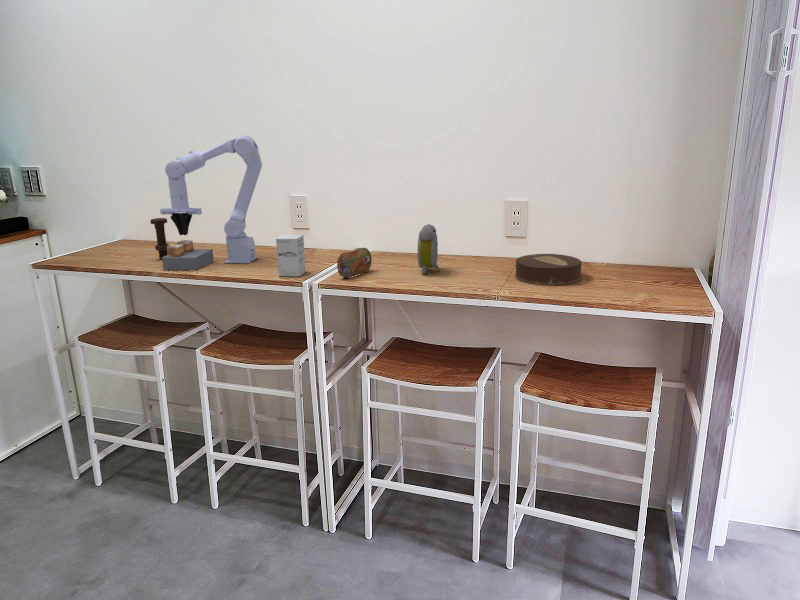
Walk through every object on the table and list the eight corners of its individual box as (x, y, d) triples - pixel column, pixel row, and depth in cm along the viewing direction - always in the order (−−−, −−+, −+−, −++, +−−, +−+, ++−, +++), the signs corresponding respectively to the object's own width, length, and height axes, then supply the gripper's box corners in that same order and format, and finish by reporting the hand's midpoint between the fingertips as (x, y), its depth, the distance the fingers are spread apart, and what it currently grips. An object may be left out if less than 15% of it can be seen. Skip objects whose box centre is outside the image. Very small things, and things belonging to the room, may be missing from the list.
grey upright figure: (422, 267, 212) (421, 222, 208) (442, 267, 211) (442, 223, 207) (417, 276, 201) (416, 229, 197) (439, 276, 200) (438, 229, 196)
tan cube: (184, 256, 222) (183, 244, 220) (179, 259, 218) (177, 246, 217) (174, 256, 222) (172, 244, 221) (168, 259, 218) (166, 246, 217)
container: (502, 274, 201) (503, 255, 199) (554, 267, 209) (555, 249, 207) (540, 290, 183) (541, 269, 182) (595, 282, 191) (596, 262, 189)
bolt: (167, 260, 233) (162, 220, 229) (154, 261, 233) (148, 220, 229) (173, 257, 238) (168, 217, 234) (160, 257, 239) (154, 217, 234)
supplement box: (278, 276, 205) (274, 238, 202) (285, 271, 212) (282, 234, 209) (300, 277, 204) (297, 238, 201) (306, 271, 211) (303, 234, 208)
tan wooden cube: (193, 252, 228) (192, 240, 227) (188, 254, 224) (187, 242, 223) (183, 252, 229) (182, 240, 228) (178, 254, 225) (176, 242, 224)
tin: (343, 280, 198) (342, 254, 196) (336, 279, 200) (334, 253, 198) (372, 270, 210) (371, 245, 208) (365, 269, 212) (364, 244, 210)
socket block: (213, 261, 230) (212, 249, 228) (196, 270, 216) (194, 257, 215) (182, 261, 231) (181, 248, 230) (163, 270, 218) (161, 257, 217)
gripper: (153, 197, 218) (158, 236, 222) (193, 197, 216) (197, 236, 220) (163, 195, 225) (168, 233, 229) (202, 194, 223) (206, 233, 226)
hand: (183, 234), depth 225 cm, fingers closed
